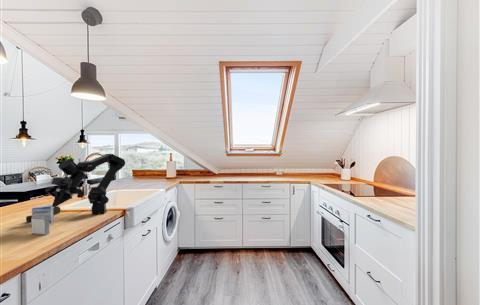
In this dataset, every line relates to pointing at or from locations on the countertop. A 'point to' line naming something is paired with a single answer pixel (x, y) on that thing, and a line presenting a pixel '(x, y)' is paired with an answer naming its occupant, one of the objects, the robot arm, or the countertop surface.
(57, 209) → the hand tool
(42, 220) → the tile
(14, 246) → the countertop surface
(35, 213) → the medicine box
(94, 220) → the countertop surface
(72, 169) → the robot arm
